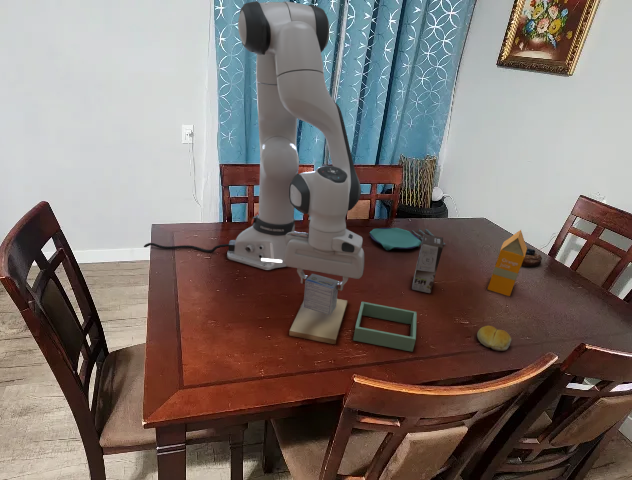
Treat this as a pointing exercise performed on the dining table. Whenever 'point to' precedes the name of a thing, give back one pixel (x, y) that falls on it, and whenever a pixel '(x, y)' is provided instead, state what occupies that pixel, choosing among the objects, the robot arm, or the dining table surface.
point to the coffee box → (427, 263)
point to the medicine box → (320, 294)
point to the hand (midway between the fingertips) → (322, 286)
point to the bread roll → (494, 338)
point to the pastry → (531, 258)
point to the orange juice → (508, 264)
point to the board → (318, 323)
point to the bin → (385, 337)
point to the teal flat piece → (397, 238)
